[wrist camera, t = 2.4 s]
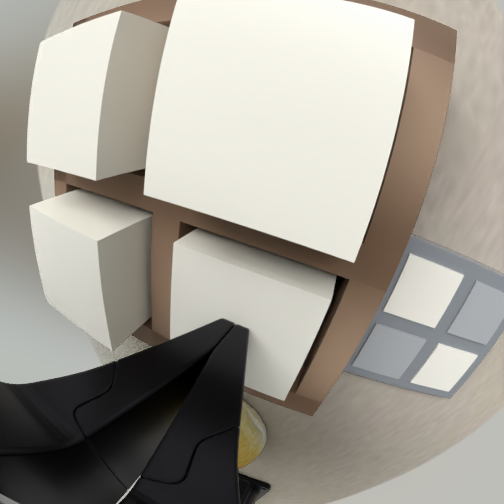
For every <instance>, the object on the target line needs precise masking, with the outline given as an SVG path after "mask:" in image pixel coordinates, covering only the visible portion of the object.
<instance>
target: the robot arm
mask: <svg viewBox="0 0 504 504" xmlns="http://www.w3.org/2000/svg"><path fill="white" fill-rule="evenodd" d="M248 341H249V329H248V328H246V327H244V326H241V325H239V324H236V325H235V324H234V322H231V321H229V320H226V319H224V318H221V319H218V320H216V321H213V322H211V323H209V324H206V325H204V326H202V327H199V328H197V329H195V330H192V331H190V332H188V333H185V334H183V335H180V336H178V337H175V338H173V339H171V340H168V341H166V342H163V343H161V344H158V345H156V346H153V347H151V348H148V349H145V350H143V351H140V352H138V353H135V354H133V355H130V356H127V357H125V358H122V359H119V360H118V361H117V362H116V361H114V362H111V363H108V364H106V365H103V366H100V367H97V368H94V369H91V370H87V371H84V372H80V373H76V374H73V375H68V376H64V377H59V378H54V379H49V380H45V381H39V382H34V383H28V384H9V383H4V382H0V504H116V503H117V502H118V500H119V499H120V498H121V497H122V496H123V495H124V494H125V493H126V492H127V489H129V488H130V487H131V486H132V484H133V483H134V482H135V481H136V480H137V478H138V477H139V476H140V475H141V478H139V479H138V481H137V482H136V484H135V485H134V487H133V488H132V489H131V491H130V492H129V493H128V495H127V496H126V497H125V498H124V499H123V500H122V501H121V502H120V503H119V504H255V502H256V501H257V500H258V499H260V498H261V497H262V496H263V495H265V494H266V493H267V492H268V491H269V490H270V488H271V486H269V485H267V484H264V483H261V482H258V481H255V480H253V479H250V478H247V477H244V476H242V475H239V474H238V450H239V436H240V425H241V414H242V404H243V394H244V383H245V373H246V362H247V352H248Z"/></svg>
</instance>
